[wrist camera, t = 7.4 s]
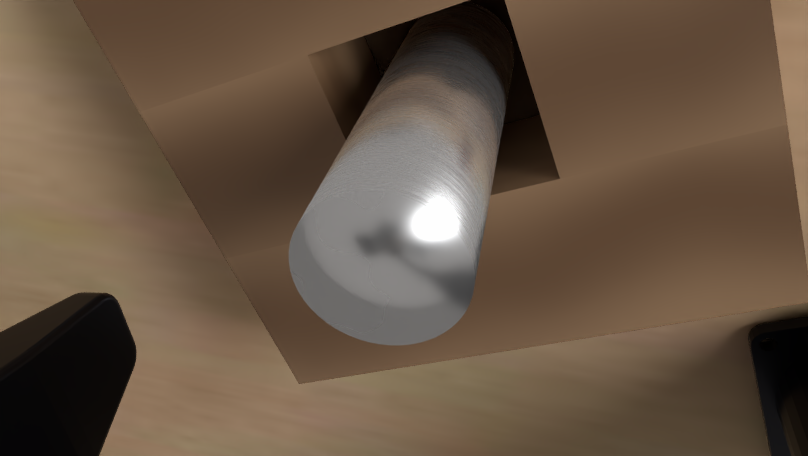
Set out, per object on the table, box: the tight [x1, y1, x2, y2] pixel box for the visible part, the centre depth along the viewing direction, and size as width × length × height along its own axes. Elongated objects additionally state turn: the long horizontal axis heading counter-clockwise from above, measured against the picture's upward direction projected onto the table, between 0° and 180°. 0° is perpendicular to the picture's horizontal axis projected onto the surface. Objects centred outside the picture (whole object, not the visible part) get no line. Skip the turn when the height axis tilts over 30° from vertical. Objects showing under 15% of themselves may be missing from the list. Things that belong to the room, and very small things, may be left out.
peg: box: [289, 2, 515, 345], centre depth 16 cm, size 3×3×10 cm
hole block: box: [73, 0, 808, 384], centre depth 18 cm, size 14×14×4 cm
